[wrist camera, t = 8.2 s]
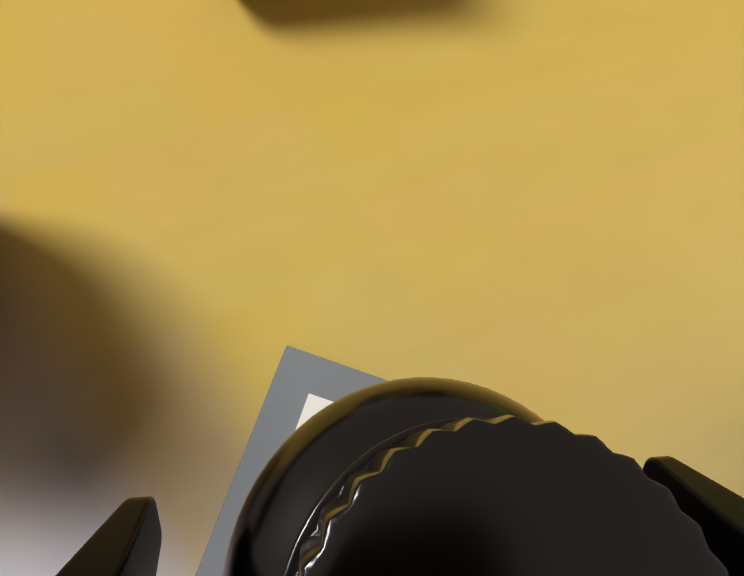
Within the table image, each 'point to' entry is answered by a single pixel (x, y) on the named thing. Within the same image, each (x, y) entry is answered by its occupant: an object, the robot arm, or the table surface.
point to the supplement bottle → (456, 495)
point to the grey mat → (280, 432)
